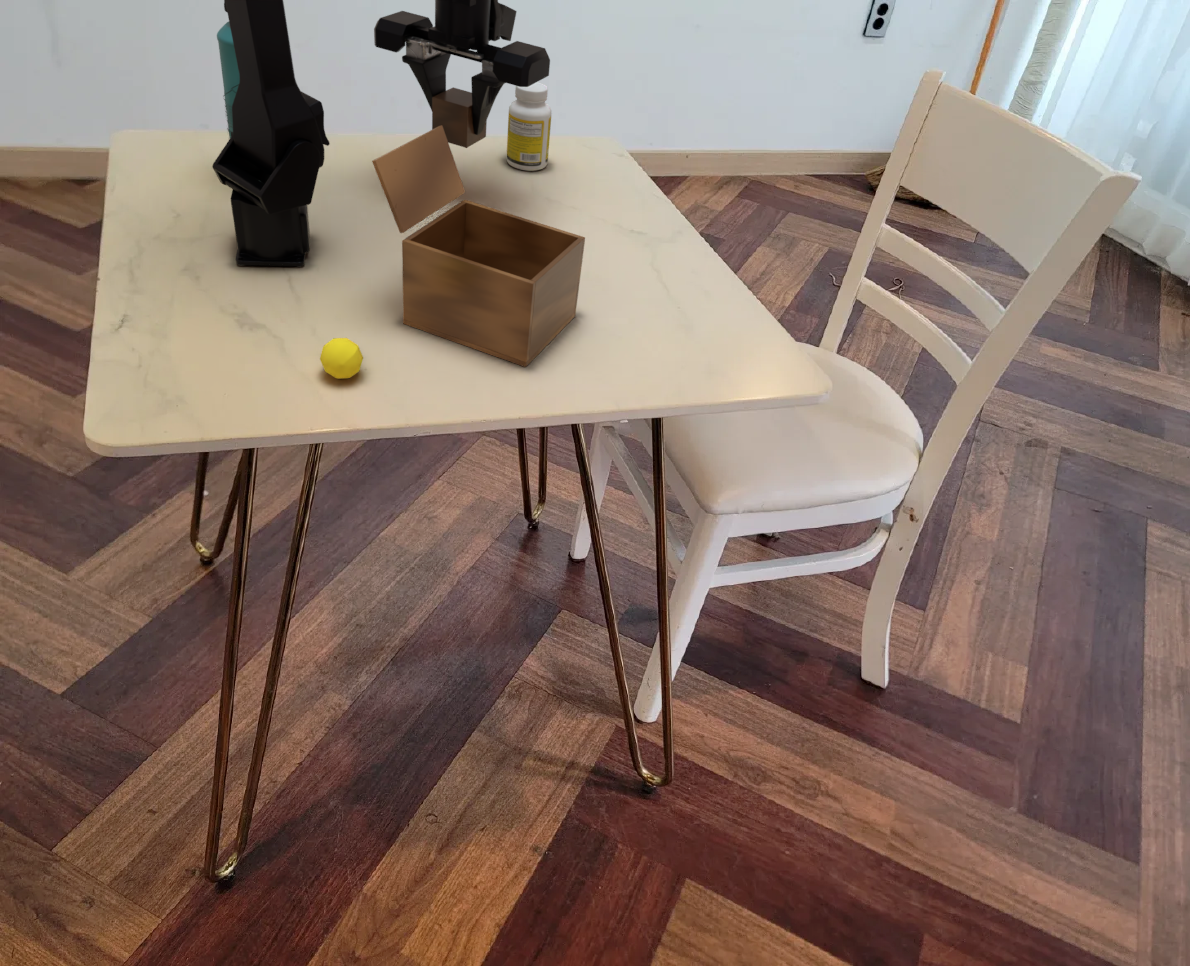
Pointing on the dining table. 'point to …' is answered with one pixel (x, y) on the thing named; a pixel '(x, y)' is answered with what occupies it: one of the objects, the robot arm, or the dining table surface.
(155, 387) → the dining table surface
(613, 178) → the dining table surface
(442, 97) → the block
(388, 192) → the flap
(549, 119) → the supplement bottle
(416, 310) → the brown wooden open box
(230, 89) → the beverage bottle
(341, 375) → the yellow lemon
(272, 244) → the robot arm
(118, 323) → the dining table surface
